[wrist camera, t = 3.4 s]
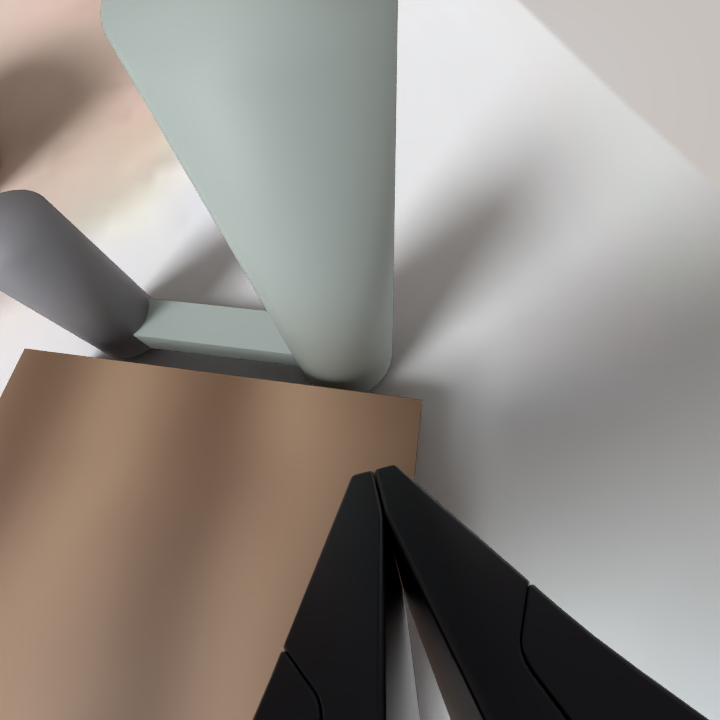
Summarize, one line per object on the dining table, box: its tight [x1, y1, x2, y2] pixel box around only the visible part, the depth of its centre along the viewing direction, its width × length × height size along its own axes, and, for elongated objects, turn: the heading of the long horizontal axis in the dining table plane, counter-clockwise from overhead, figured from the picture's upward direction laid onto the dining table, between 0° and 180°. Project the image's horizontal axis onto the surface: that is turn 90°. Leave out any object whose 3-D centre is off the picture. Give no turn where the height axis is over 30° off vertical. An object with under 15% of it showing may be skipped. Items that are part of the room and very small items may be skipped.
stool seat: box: [0, 349, 422, 720], centre depth 14 cm, size 14×25×2 cm, turn 171°
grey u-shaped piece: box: [0, 0, 398, 392], centre depth 11 cm, size 12×4×12 cm, turn 81°
